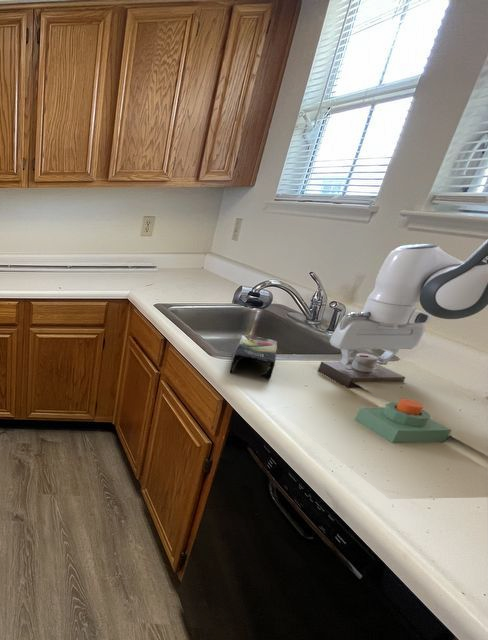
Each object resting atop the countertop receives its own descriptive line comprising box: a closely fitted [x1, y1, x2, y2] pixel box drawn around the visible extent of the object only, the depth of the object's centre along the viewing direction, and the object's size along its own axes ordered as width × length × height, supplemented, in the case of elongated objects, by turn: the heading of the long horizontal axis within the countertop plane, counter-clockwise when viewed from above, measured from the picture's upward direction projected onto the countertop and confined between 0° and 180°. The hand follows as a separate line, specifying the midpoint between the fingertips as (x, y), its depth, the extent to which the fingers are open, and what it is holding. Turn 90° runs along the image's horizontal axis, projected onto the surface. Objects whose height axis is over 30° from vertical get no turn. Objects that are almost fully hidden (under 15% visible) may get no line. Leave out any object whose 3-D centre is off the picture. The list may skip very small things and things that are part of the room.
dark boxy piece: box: [229, 334, 278, 380], centre depth 116 cm, size 20×10×6 cm, turn 147°
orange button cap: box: [396, 398, 425, 415], centre depth 85 cm, size 4×4×2 cm
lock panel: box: [317, 360, 406, 389], centre depth 109 cm, size 14×10×3 cm
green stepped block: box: [354, 401, 452, 444], centre depth 86 cm, size 11×9×5 cm
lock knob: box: [351, 352, 378, 372], centre depth 107 cm, size 4×4×4 cm
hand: (363, 363), depth 108 cm, fingers open, 8 cm apart
